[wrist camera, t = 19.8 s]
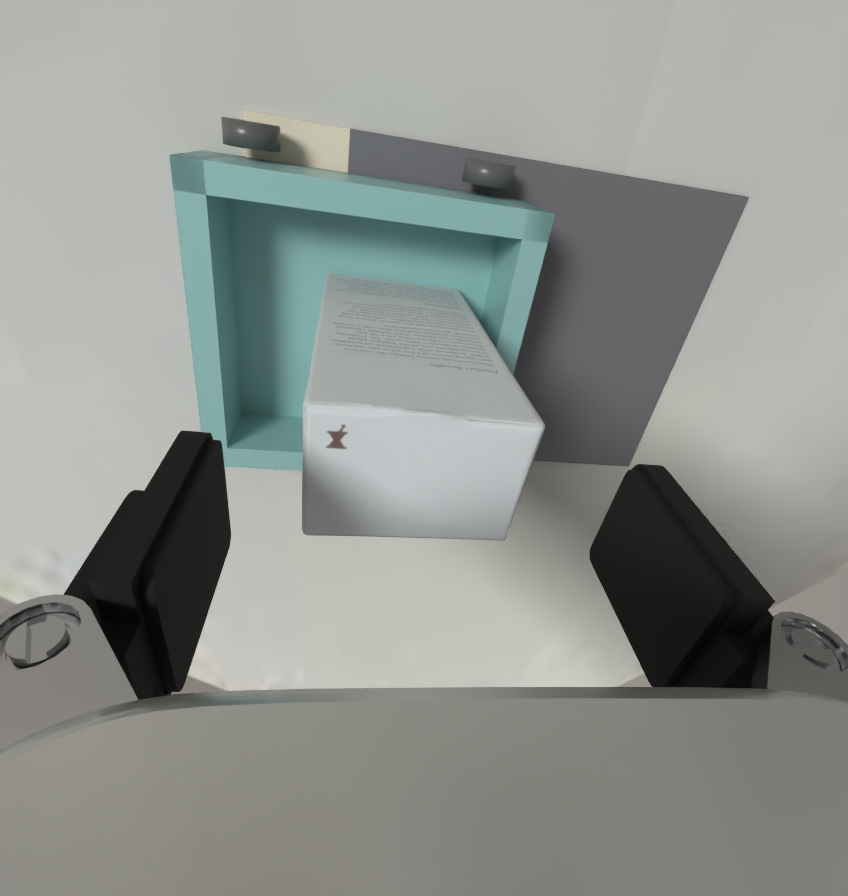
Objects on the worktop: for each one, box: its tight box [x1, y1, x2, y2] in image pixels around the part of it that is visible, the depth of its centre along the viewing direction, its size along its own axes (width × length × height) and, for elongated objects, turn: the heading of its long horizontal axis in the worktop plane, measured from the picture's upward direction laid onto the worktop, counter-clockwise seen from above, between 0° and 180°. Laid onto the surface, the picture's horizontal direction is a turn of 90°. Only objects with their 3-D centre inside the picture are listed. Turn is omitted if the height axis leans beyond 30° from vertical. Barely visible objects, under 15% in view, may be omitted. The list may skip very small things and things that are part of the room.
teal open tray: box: [170, 117, 555, 471], centre depth 21 cm, size 13×14×4 cm
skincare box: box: [302, 272, 545, 541], centre depth 18 cm, size 6×4×12 cm
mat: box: [243, 111, 749, 466], centre depth 24 cm, size 22×15×1 cm
